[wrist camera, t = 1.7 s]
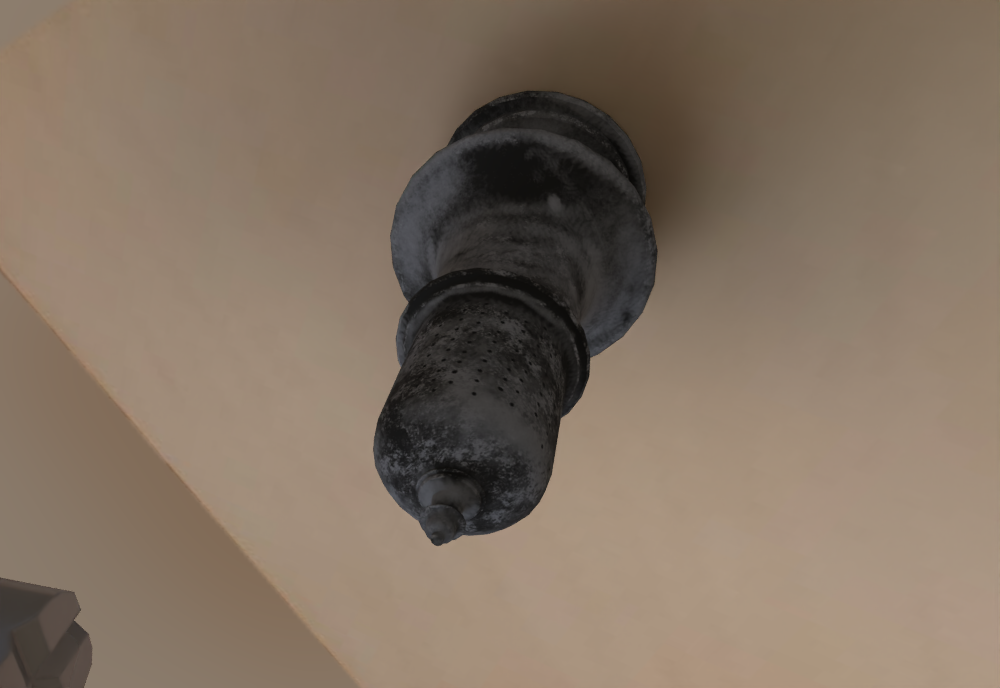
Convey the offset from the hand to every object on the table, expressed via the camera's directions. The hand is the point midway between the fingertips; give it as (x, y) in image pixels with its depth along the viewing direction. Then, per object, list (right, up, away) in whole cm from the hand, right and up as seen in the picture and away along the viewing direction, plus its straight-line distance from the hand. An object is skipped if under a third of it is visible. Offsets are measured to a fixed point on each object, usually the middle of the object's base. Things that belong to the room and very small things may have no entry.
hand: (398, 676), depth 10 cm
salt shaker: (+2, +8, +12) cm, 14 cm away
